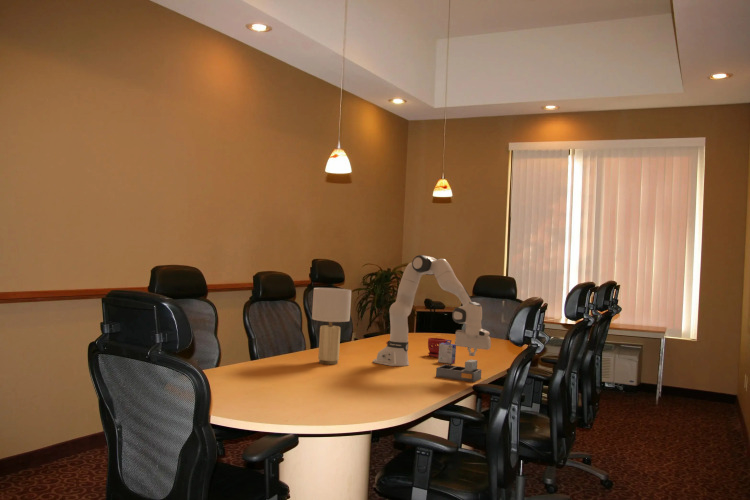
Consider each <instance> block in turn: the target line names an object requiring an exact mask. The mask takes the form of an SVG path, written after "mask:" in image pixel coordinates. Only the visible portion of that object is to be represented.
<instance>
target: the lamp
mask: <svg viewBox="0 0 750 500" xmlns="http://www.w3.org/2000/svg"><path fill="white" fill-rule="evenodd" d="M312 293H313V294H312V295H313V296H312V310H311V313H312V314H311V319H312V320H314V321H319V322H326V323H328V324H327V325H324V324H323V325H320V327H319V340H318V341H319V343H318V358H317V360H318V363H319V364H321V365H326V366H335V365H338V362H339V360H340V359H339V358H340V344H341V343H340V342H341V329H342V328H341V326H339V325H333V323H342V322H343V323H345V322H350V319H351V306H352V305H351V304H352V289H349V288H348V289H346V288H338V287H337V288H336V287H313V292H312Z"/></svg>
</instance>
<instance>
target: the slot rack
mask: <svg viewBox="0 0 750 500" xmlns="http://www.w3.org/2000/svg"><path fill="white" fill-rule="evenodd" d="M435 372H436V373H435V378H442V379H450V380H456V381H462V382H470V383H475V382H477V381H478V380H481V379H482V369H479V368H477V371H475V372H473V373H471V372H465V366H457V365H453V364H447V363H444V364H442V365H440V366H438V367H436V370H435Z"/></svg>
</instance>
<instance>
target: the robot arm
mask: <svg viewBox="0 0 750 500" xmlns="http://www.w3.org/2000/svg"><path fill="white" fill-rule="evenodd" d="M411 261H412V262H410V263H408V264H407V265H406V267H405V269H404V271H403V273H402V277H401V279H400V283H399V286H398V288H397V295H396V299H395V302H393V303H392V304H391V305H390V307H389V311H388V313H389V321H390V322H389V324H390V333H389V336H390V337H389V340H387V341H386V343H385V344H386V346H385V347H384V348H382V349H381V350H379V351H378V352H377V356H376V358H374V359H373V360H372V363H376V364H380V365H384V366H390V367H396V366H397V367H406V366H409V365H410V363H409V353H408V350H409V324H408V323H409V321H408V317H409V316H410V315H411V313H412V309H413V305H414V303H415V296H416V294H417V292H418V291H417V290H418V287H419V284H420V281H421V279H422V277H423V275H426V276H434V277H435V279H436V281H437V284H438V285H439V287H440V288H441V289H442V290H443V291H445V292H448V293H451V294H452V295H455V296H456V297H457V298H458V299H459V301H460V303H461V305H460V306H457V307H454V309H453V311H452V315H451V316H452V320H453V322H455V323H456V324H459V325H460V324H465V329H456V330H455V340H454V344H455V345H456V347H463V348H467V352H468V353H469V357H470V356H471V357H475V356H476V352H477V351H478V350H479V349H481V350H487V351H488V350H491V347H492V339H491V337H490V335H491V334H490V331H488V330H486V329H483V327H482V326H483V325H482V321H483V308H482V305H481V303H479V302H475V301H474V300H472V298H471V295H469V293H468V291H467V290H466V287H465V286H464V285H463V284H462V283H461V281H460V280H459V279H458V278H457V276H456V274H455V272H454V269H453V267H452V266H451V264H450V263H449V262H448V261H447V260H446V259H445V258H439V259H438V258H436V257H433V256H429V255H424V254H419V255H415V257H414V258H413V259H412V260H411ZM472 349H473V350H474V351H473V352H472Z"/></svg>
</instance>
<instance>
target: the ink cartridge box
mask: <svg viewBox="0 0 750 500" xmlns="http://www.w3.org/2000/svg"><path fill="white" fill-rule="evenodd" d="M447 341H448V342H447ZM456 354H457V346H456V345H455V343H452V339H451V340H450V339H446V343H440V344H439V357H437V359H438V360H437V362H438V363H444V364H447V365H453V364H454V365H455V364H456V356H457V355H456Z"/></svg>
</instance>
